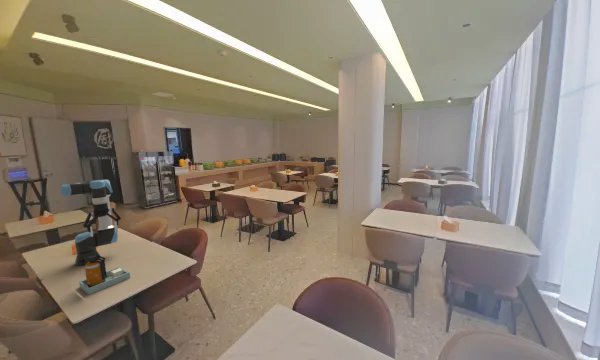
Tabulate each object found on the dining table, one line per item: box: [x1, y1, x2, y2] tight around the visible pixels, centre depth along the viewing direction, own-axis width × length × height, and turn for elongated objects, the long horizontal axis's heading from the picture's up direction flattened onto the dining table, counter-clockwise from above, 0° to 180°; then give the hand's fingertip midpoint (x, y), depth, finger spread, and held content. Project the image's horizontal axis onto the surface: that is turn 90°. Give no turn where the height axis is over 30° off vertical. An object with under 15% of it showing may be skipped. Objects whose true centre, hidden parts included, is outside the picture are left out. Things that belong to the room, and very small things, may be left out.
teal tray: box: [78, 266, 131, 296], centre depth 154 cm, size 16×22×4 cm
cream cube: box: [111, 268, 123, 279], centre depth 159 cm, size 5×5×5 cm
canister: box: [84, 254, 108, 288], centre depth 150 cm, size 9×11×20 cm
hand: (104, 233), depth 160 cm, fingers open, 13 cm apart
